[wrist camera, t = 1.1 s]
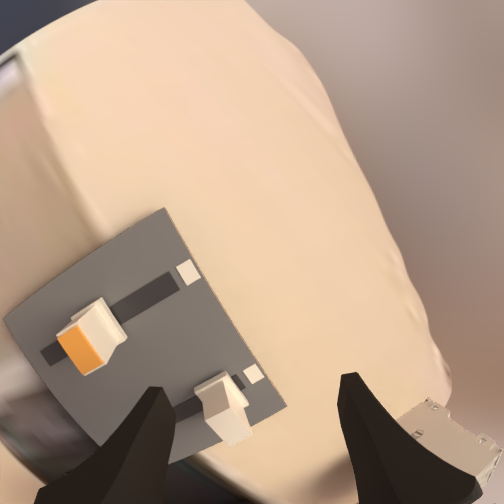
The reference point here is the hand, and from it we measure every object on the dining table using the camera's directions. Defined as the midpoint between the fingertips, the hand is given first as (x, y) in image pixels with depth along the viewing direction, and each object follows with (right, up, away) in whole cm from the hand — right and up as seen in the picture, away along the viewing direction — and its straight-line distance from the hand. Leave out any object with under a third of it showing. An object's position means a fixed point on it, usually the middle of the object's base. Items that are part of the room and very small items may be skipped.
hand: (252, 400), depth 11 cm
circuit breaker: (+18, -19, +20) cm, 33 cm away
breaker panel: (-10, -4, +12) cm, 16 cm away
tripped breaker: (-12, 0, +9) cm, 15 cm away
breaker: (-3, -6, +12) cm, 13 cm away
